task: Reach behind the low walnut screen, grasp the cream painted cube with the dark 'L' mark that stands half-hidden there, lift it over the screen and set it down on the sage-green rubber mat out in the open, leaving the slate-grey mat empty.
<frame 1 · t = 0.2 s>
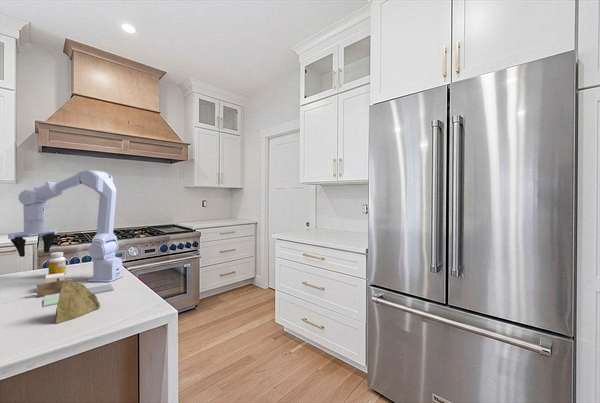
hand: (34, 254, 108), 10 cm above the counter, fingers open, 7 cm apart
grey mat: (100, 289, 98), on the counter
green mat: (58, 300, 88), on the counter
lettered cube: (55, 288, 98), on the counter
supplement bottle: (57, 276, 113), on the counter
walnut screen: (55, 293, 94), on the counter
rock: (79, 315, 78), on the counter
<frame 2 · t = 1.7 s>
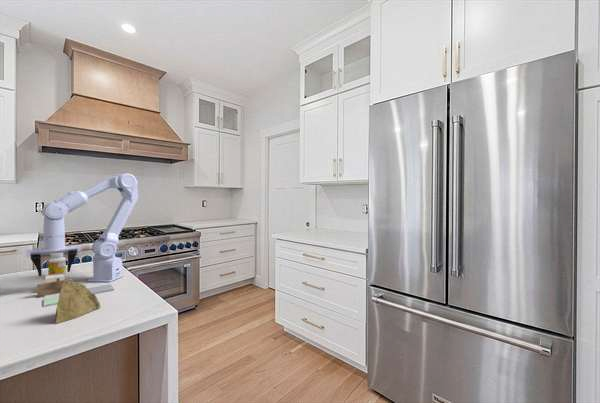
hand: (54, 273, 98), 6 cm above the counter, fingers open, 7 cm apart
nothing on the counter moved.
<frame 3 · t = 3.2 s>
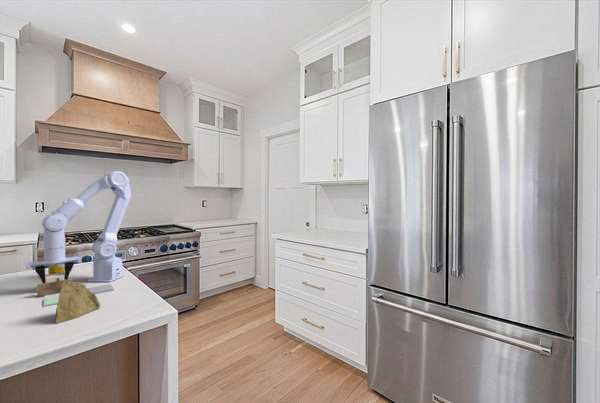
hand: (55, 284, 98), 1 cm above the counter, fingers closed on lettered cube, 5 cm apart
lettered cube: (55, 288, 98), on the counter, touching gripper
everything else where it was.
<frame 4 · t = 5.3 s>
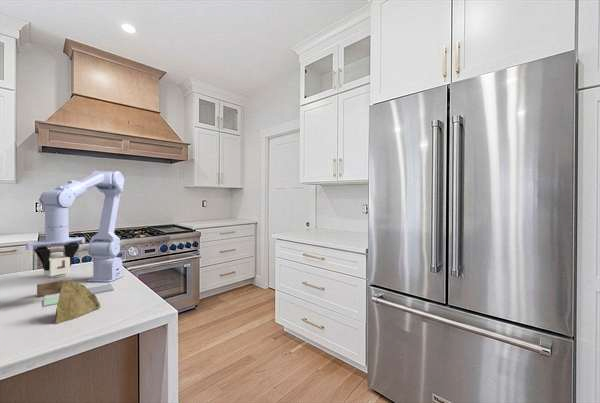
hand: (57, 268, 88), 10 cm above the counter, fingers closed on lettered cube, 5 cm apart
lettered cube: (57, 273, 88), point 9 cm above the counter, touching gripper
everything else where it was.
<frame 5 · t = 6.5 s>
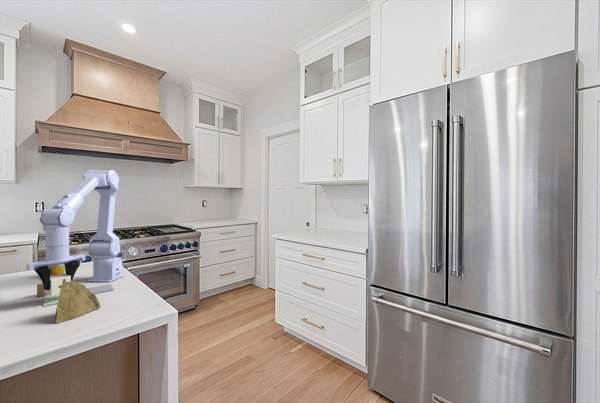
hand: (58, 286, 88), 4 cm above the counter, fingers closed on lettered cube, 5 cm apart
lettered cube: (57, 292, 88), point 3 cm above the counter, touching gripper
everything else where it was.
when the fingers open (3 cm above the counter, at t = 7.7 s): lettered cube drops 1 cm, resting on green mat.
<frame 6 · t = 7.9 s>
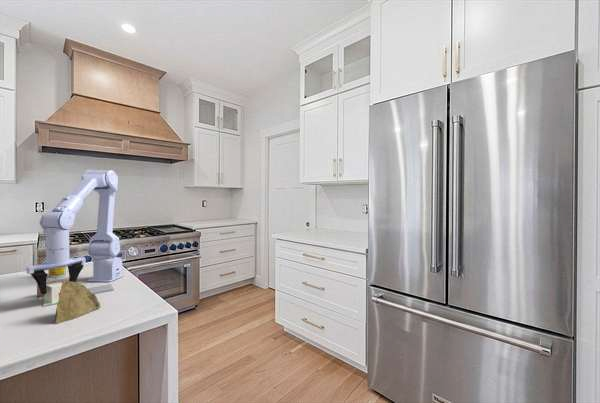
hand: (58, 289, 88), 3 cm above the counter, fingers open, 7 cm apart
lettered cube: (58, 298, 88), resting on green mat
everything else where it was.
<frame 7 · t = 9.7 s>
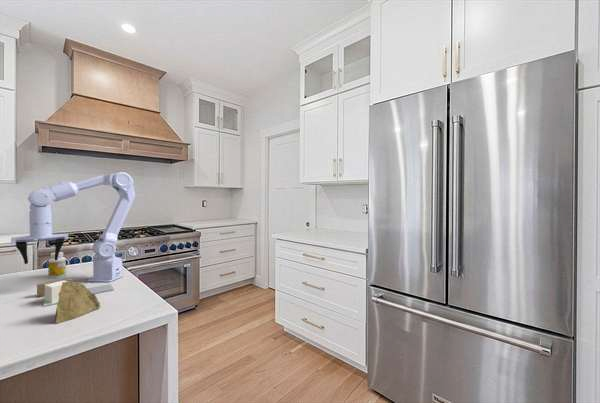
hand: (41, 261, 96), 10 cm above the counter, fingers open, 7 cm apart
nothing on the counter moved.
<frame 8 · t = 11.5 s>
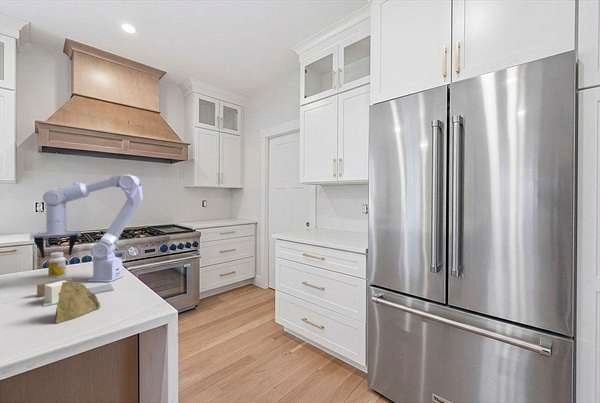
hand: (56, 256, 104), 10 cm above the counter, fingers open, 7 cm apart
nothing on the counter moved.
at the end: lettered cube 0.3 cm from the green mat (horizontally); lettered cube resting on green mat; the gripper is holding nothing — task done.
